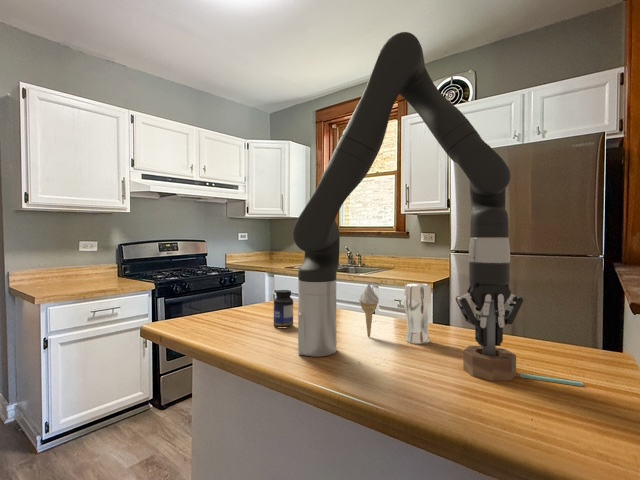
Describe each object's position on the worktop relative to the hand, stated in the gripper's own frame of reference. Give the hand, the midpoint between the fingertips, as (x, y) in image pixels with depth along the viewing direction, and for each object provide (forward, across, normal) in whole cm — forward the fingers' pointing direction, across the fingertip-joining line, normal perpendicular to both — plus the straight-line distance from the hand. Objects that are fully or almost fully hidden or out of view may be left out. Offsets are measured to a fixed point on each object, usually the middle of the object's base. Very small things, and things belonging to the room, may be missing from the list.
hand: (489, 344), depth 71 cm
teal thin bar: (+6, +9, -5) cm, 12 cm away
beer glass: (+6, -7, +22) cm, 24 cm away
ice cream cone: (+6, -19, +27) cm, 34 cm away
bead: (+6, 0, 0) cm, 6 cm away
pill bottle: (+6, -43, +41) cm, 60 cm away
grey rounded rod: (+5, 0, 0) cm, 5 cm away
